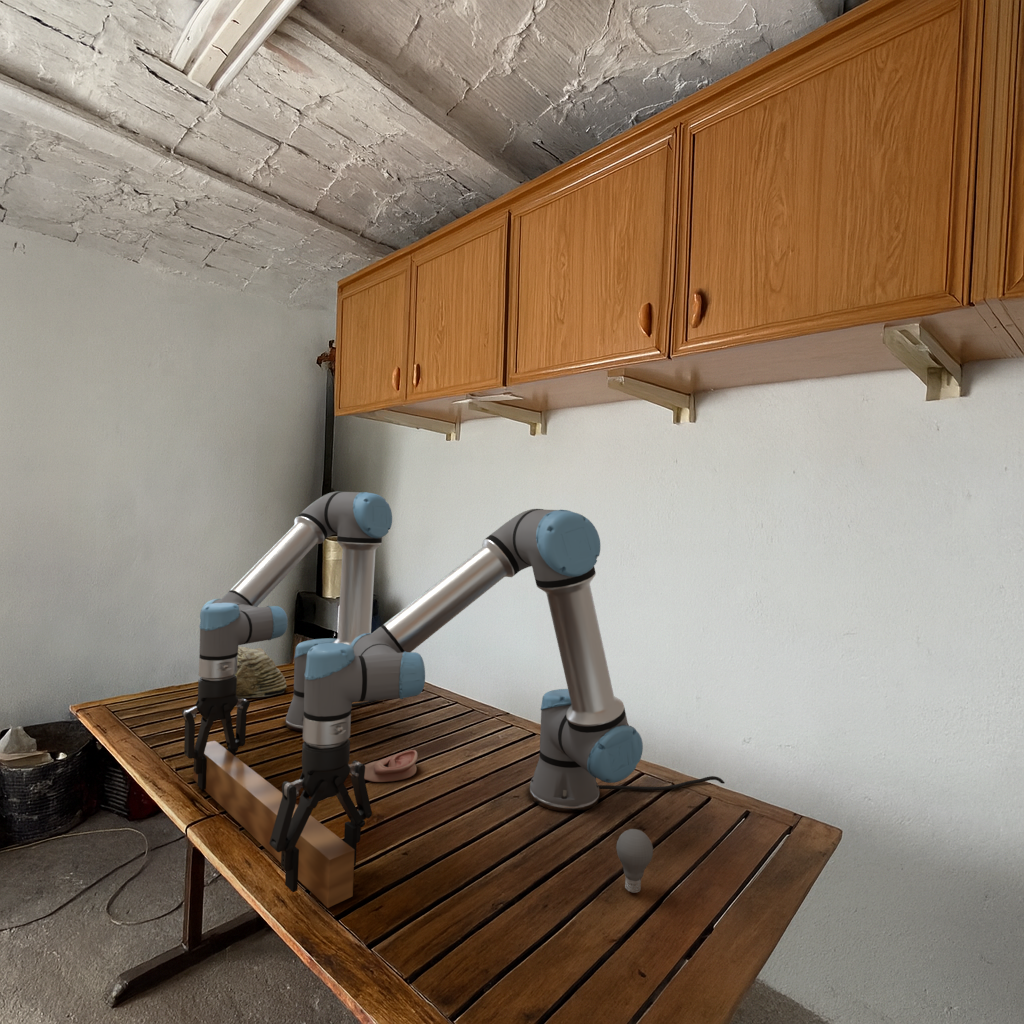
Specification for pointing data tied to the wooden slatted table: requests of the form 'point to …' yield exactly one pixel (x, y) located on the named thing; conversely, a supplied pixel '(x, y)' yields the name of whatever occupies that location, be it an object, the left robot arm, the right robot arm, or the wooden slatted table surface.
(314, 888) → the beam
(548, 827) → the wooden slatted table surface
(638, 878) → the light bulb
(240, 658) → the fossil
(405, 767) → the anatomical model
